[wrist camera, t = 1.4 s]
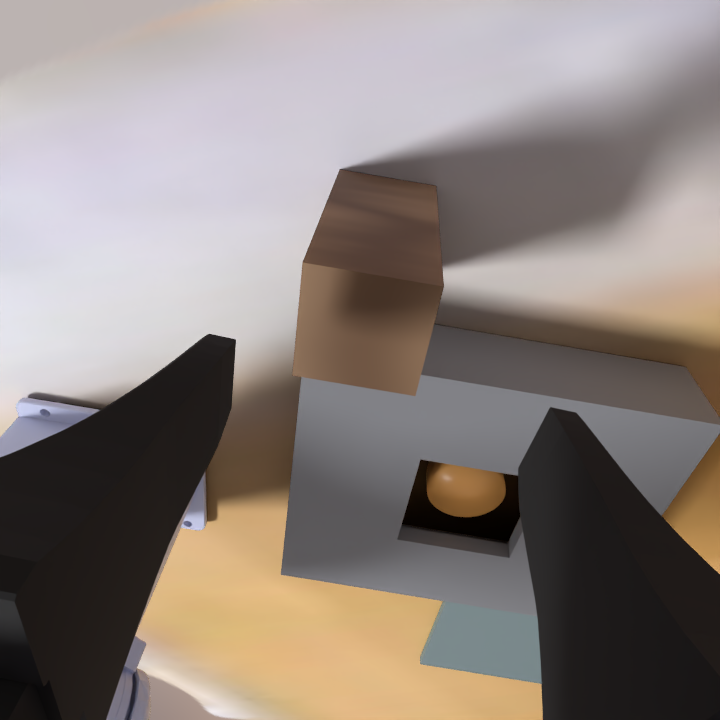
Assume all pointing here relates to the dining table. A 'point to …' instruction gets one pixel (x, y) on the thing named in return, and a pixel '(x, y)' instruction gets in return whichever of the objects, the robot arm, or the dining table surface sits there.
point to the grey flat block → (471, 458)
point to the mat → (484, 642)
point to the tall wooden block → (370, 285)
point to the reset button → (464, 489)
